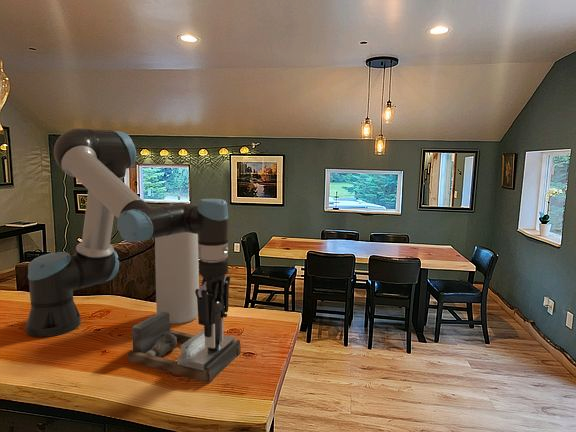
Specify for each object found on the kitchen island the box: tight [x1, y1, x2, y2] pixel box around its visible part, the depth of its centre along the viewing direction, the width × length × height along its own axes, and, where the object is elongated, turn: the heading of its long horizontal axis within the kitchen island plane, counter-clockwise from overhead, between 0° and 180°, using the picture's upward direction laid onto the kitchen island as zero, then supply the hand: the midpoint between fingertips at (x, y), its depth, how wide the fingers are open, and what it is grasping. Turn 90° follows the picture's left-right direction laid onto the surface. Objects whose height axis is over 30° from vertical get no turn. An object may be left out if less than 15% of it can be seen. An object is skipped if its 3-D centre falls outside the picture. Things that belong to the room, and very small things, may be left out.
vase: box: [154, 232, 200, 325], centre depth 134 cm, size 14×14×32 cm
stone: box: [145, 333, 178, 358], centre depth 111 cm, size 10×5×8 cm
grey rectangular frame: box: [127, 311, 242, 384], centre depth 109 cm, size 26×16×9 cm, turn 68°
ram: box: [176, 299, 236, 371], centre depth 106 cm, size 8×16×18 cm, turn 158°
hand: (214, 343), depth 105 cm, fingers closed on ram, 3 cm apart
